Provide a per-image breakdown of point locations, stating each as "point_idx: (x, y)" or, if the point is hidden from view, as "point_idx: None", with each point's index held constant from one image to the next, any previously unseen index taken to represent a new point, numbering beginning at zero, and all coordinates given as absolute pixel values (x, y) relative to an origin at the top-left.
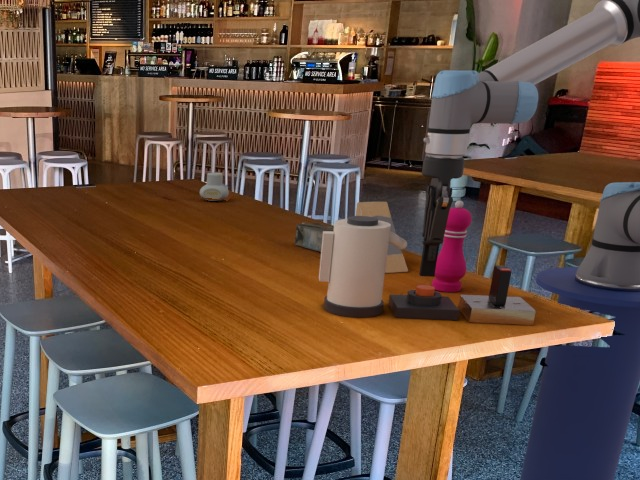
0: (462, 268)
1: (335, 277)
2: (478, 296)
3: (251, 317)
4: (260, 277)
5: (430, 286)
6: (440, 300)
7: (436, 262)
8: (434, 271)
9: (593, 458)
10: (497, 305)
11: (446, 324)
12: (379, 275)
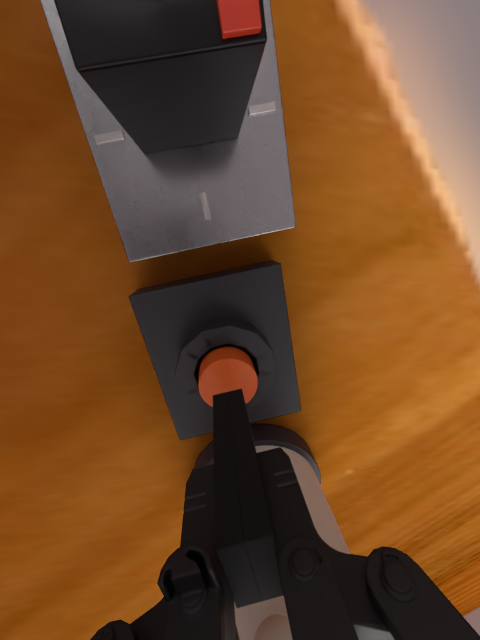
0: None
1: None
2: (125, 193)
3: None
4: (85, 637)
5: (214, 372)
6: (234, 322)
7: (250, 431)
8: (245, 404)
9: None
10: None
11: (314, 287)
12: (324, 531)
